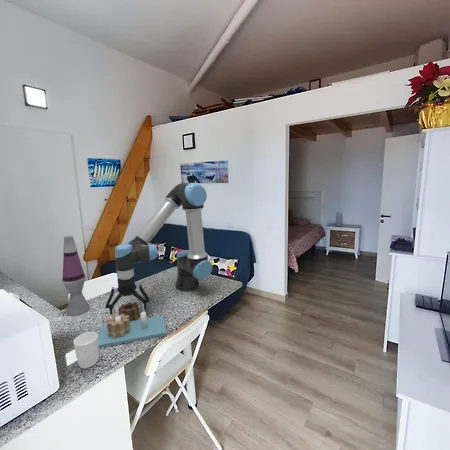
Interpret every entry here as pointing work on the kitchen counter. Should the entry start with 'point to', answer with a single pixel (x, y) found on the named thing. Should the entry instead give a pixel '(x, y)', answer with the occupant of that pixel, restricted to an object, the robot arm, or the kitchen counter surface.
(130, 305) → the walnut gear
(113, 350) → the kitchen counter surface
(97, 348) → the white cup
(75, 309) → the lamp
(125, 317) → the maple gear
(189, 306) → the kitchen counter surface
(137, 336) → the gear board
